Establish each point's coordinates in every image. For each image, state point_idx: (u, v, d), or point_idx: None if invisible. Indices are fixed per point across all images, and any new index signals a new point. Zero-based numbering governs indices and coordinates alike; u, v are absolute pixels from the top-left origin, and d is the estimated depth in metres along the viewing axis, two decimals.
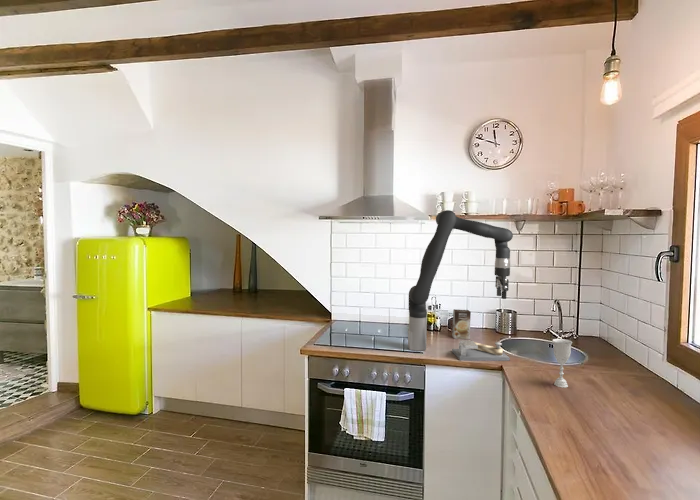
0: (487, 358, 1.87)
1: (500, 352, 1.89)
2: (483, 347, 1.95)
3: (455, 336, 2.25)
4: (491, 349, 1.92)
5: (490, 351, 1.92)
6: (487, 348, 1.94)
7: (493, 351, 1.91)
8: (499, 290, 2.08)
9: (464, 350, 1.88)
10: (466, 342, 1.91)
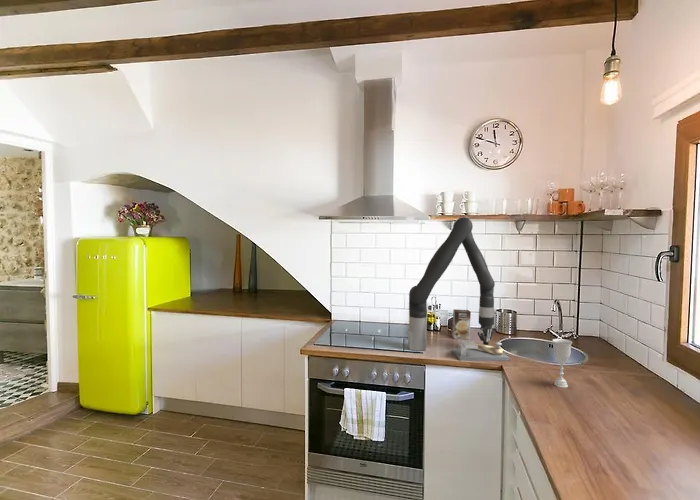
0: (487, 358, 1.87)
1: (500, 352, 1.89)
2: (483, 347, 1.95)
3: (455, 336, 2.25)
4: (491, 349, 1.92)
5: (490, 351, 1.92)
6: (487, 348, 1.94)
7: (493, 351, 1.91)
8: None
9: (464, 350, 1.88)
10: (466, 342, 1.91)
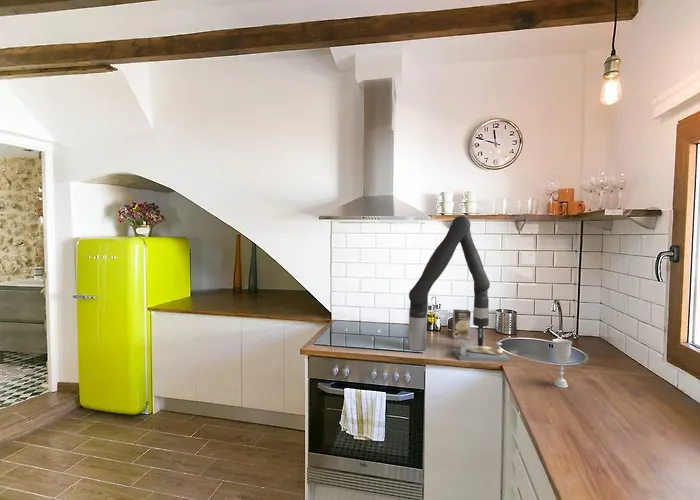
0: (487, 358, 1.87)
1: (501, 352, 1.89)
2: (482, 349, 1.92)
3: (455, 336, 2.25)
4: (492, 350, 1.91)
5: (491, 352, 1.91)
6: (487, 349, 1.91)
7: (494, 352, 1.90)
8: None
9: (464, 350, 1.88)
10: (466, 342, 1.91)
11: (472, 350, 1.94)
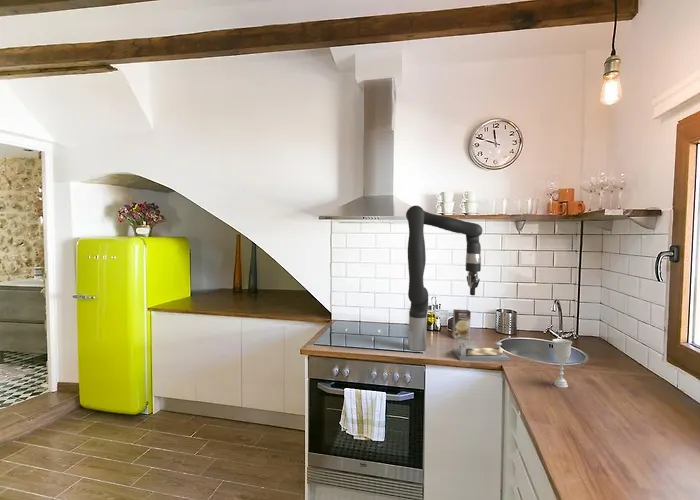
0: (487, 358, 1.87)
1: (502, 351, 1.90)
2: (485, 351, 1.89)
3: (455, 336, 2.25)
4: (494, 351, 1.89)
5: (493, 353, 1.89)
6: (489, 351, 1.89)
7: (496, 352, 1.89)
8: None
9: (464, 350, 1.88)
10: (466, 342, 1.91)
11: (475, 354, 1.89)
